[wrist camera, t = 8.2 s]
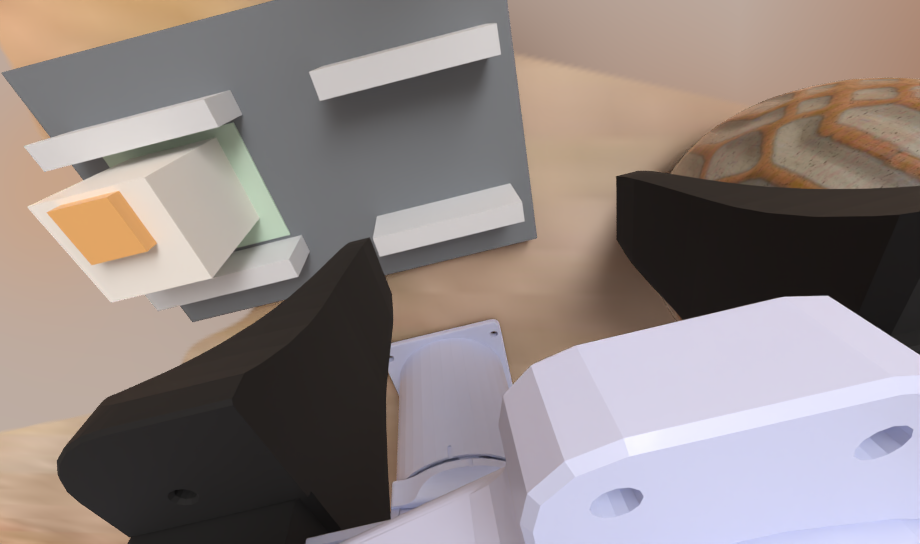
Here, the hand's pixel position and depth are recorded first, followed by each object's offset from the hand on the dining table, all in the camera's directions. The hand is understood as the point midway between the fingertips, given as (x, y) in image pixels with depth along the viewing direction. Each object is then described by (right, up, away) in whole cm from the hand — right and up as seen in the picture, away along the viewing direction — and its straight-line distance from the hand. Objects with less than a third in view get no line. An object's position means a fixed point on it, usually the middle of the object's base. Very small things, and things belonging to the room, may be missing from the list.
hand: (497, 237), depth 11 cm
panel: (-8, +4, +8) cm, 12 cm away
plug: (-13, +3, +7) cm, 15 cm away
